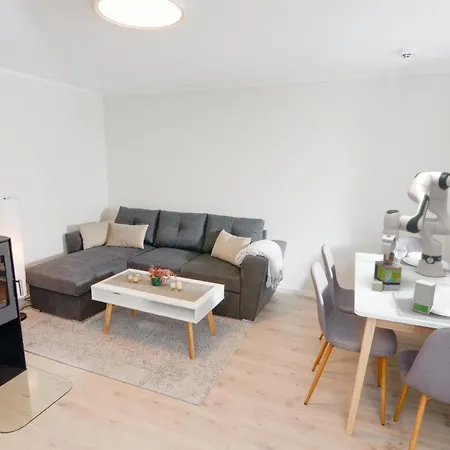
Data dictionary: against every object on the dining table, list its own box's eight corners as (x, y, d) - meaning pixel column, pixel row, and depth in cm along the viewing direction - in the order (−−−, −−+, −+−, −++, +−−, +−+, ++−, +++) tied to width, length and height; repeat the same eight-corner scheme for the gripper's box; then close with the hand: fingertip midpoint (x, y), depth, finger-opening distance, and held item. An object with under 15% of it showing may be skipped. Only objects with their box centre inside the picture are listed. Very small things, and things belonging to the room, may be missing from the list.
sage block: (372, 288, 209) (373, 280, 208) (381, 289, 207) (382, 281, 207) (372, 290, 205) (373, 282, 204) (382, 291, 203) (382, 284, 202)
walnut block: (384, 259, 213) (385, 251, 212) (393, 260, 210) (394, 253, 209) (383, 261, 209) (383, 253, 208) (392, 262, 206) (392, 254, 205)
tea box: (400, 290, 205) (402, 267, 202) (383, 290, 205) (385, 267, 202) (388, 282, 220) (390, 260, 217) (373, 282, 220) (374, 260, 217)
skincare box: (411, 310, 177) (414, 281, 174) (415, 306, 182) (418, 278, 179) (429, 315, 171) (432, 285, 169) (433, 311, 176) (436, 282, 173)
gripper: (388, 233, 217) (386, 254, 219) (381, 238, 201) (379, 261, 203) (399, 234, 213) (397, 255, 215) (392, 240, 197) (390, 263, 199)
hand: (388, 258), depth 209 cm, fingers closed on walnut block, 5 cm apart
